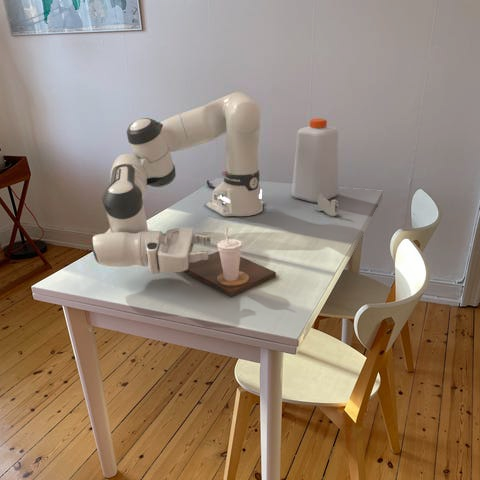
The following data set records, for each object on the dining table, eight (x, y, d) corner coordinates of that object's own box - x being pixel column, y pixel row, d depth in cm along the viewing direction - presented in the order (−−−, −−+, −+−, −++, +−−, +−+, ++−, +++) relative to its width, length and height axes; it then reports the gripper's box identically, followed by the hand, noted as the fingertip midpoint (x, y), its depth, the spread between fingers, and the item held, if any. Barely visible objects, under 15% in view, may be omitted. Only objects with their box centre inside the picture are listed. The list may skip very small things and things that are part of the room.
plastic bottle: (341, 195, 193) (347, 118, 179) (319, 205, 184) (323, 125, 170) (310, 188, 202) (313, 114, 188) (287, 197, 193) (288, 121, 178)
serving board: (180, 270, 140) (180, 263, 139) (224, 253, 149) (223, 247, 148) (231, 296, 126) (230, 290, 125) (275, 277, 135) (275, 270, 134)
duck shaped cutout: (320, 210, 180) (339, 217, 172) (317, 211, 179) (336, 218, 172) (321, 194, 177) (340, 201, 170) (318, 195, 176) (337, 202, 169)
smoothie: (218, 273, 134) (215, 223, 126) (242, 271, 134) (240, 222, 127) (219, 284, 128) (216, 232, 121) (244, 282, 128) (242, 231, 121)
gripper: (162, 244, 137) (212, 243, 137) (150, 277, 120) (207, 276, 120) (160, 222, 134) (211, 221, 134) (147, 253, 117) (205, 252, 116)
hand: (209, 247), depth 127 cm, fingers open, 8 cm apart
